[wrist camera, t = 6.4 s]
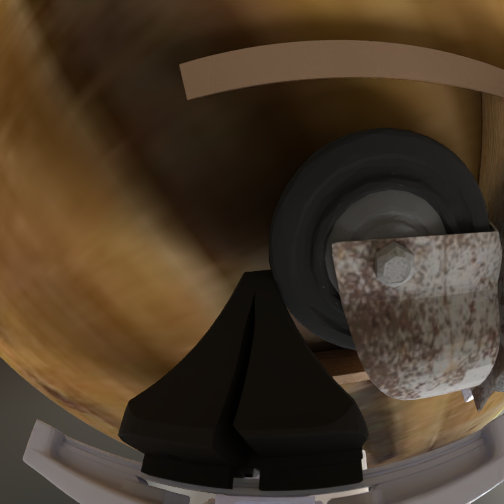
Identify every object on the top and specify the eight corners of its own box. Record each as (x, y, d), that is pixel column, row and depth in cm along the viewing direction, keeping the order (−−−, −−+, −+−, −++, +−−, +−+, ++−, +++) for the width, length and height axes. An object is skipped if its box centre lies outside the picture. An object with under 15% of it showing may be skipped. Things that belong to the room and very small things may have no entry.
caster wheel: (273, 141, 12) (470, 133, 9) (300, 339, 16) (454, 327, 13) (222, 143, 6) (561, 144, 3) (280, 433, 10) (487, 411, 7)
